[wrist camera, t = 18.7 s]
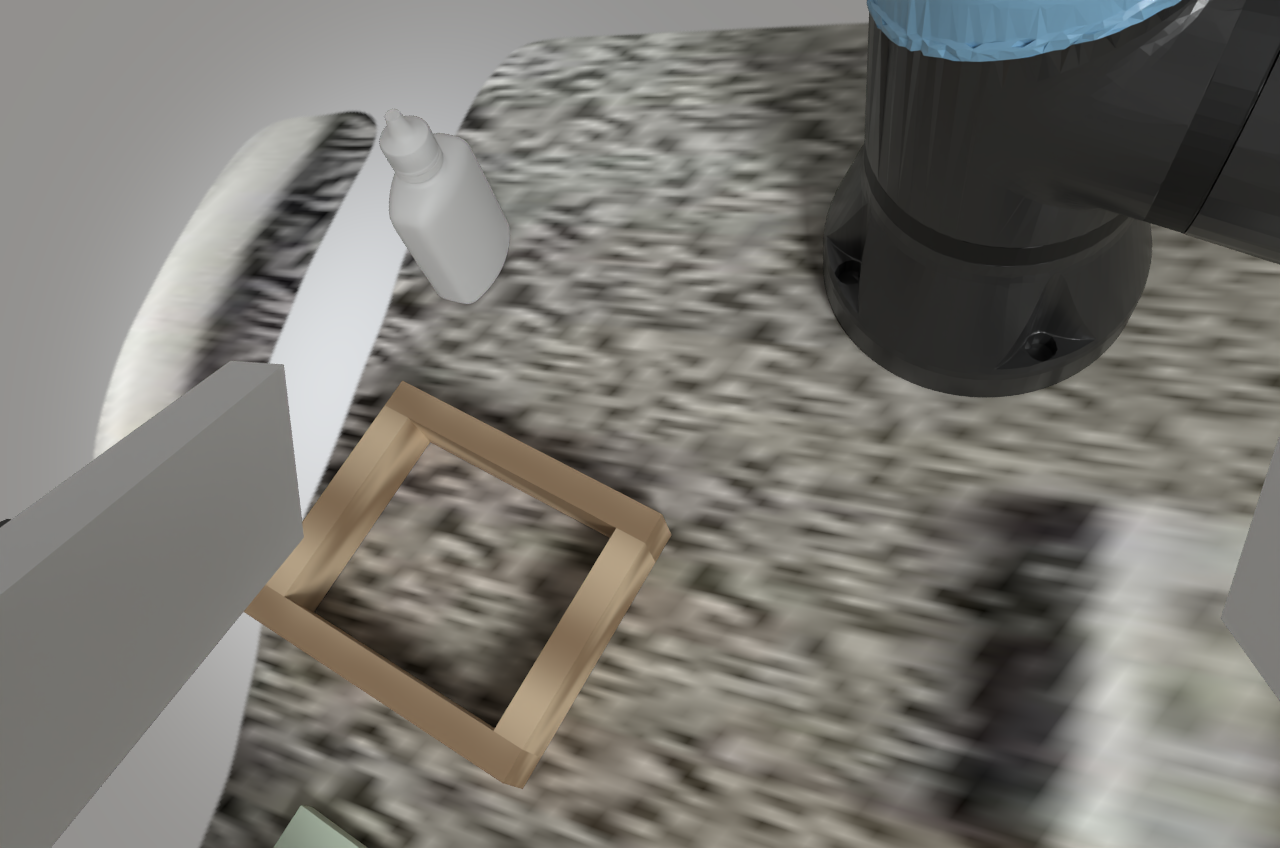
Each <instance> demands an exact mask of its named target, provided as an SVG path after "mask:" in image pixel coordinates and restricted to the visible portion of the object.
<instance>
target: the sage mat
mask: <svg viewBox="0 0 1280 848" xmlns="http://www.w3.org/2000/svg"><path fill="white" fill-rule="evenodd" d="M274 848H367V847H366V846H365V845H363V844H362V843H360V842H359V841H358V840H356V839H355V838H354V837H352V836H351V835H350V834H348V833H347V832H345V831H344V830H343V829H341V828H340V827H339V826H337V825H336V824H334V823H333V822H332V821H330V820H329V819H328V818H326V817H325V816H323V815H322V814H321V813H319V812H318V811H317V810H315V809H314V808H313V807H310V806H303V805H301V806H300V808H299V809H298V811H297V812H296V814H295V815H294V817H293V818H292V820H291V821H290V823H289V824H288V826H287V828H286V829H285V831H284V832H283V834H282V835H281V837H280V838H279V840H278V841H277V843H276V845H275V846H274Z"/></svg>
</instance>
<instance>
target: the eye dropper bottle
mask: <svg viewBox="0 0 1280 848" xmlns="http://www.w3.org/2000/svg"><path fill="white" fill-rule="evenodd" d="M385 120H386V123H387V126H386V127H385V128H384V130H383V131H382V133H381V136H380V141H379V142H380V143H379V144H380V147H381V150H382V152H383V153H384V155H385V157H386V158H387V160H388V161H389V163H390V165H391V166H392V168H393V170H394V171H395V174H394V177H393V181H392V185H391V190H390V198H389V214H390V219H391V221H392V224H393V226H394V228H395V229H396V231H397V233H398V235H399V236H400V237H401V239H402V241H403V242H404V244H405V246H406V247H407V249H408V250H409V252H410V253H411V255H412V256H413V258H414V259H415V261H416V262H417V264H418V265H419V267H420V268H421V270H422V271H423V273H424V274H425V276H426V278H427V279H428V281H429V282H430V284H431V285H432V287H433V288H434V290H435V291H436V293H437V294H438V295H439V296H440V297H442V298H444V299H447V300H451V301H455V302H459V303H463V304H471V303H473V302H475V301H477V300H478V299H479V298H480V297H481V296H482V295H483V294H484V293H485V292H486V291H487V290H488V289H489V288H490V286H491V285H492V284H493V282H494V281H495V280H496V278H497V277H498V275H499V273H500V271H501V269H502V267H503V265H504V262H505V260H506V256H507V253H508V248H509V241H510V228H509V224H508V222H507V220H506V218H505V216H504V213H503V211H502V209H501V207H500V205H499V203H498V201H497V199H496V197H495V195H494V193H493V191H492V189H491V187H490V185H489V183H488V181H487V178H486V176H485V174H484V172H483V170H482V168H481V166H480V164H479V162H478V160H477V158H476V156H475V155H474V153H473V151H472V149H471V147H470V145H469V144H468V143H467V142H466V141H465V140H464V139H462V138H460V137H457V136H453V135H449V134H442V133H436V134H433V133H432V131H431V129H430V128H429V126H428V124H427V123H426V122H425V121H424V120H423V119H422V118H419V117H417V116H403V115H402V114H401V113H400V112H399V111H398V110H397V109H391V110H389V111H387V113H386V114H385Z"/></svg>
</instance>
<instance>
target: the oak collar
mask: <svg viewBox="0 0 1280 848" xmlns="http://www.w3.org/2000/svg"><path fill="white" fill-rule="evenodd" d="M430 442H431V443H433V444H435V445H437V446H439V447H441V448H442V449H444V450H446V451H448V452H450V453H452V454H454V455H456V456H457V457H459V458H461V459H463V460H465V461H467V462H469V463H470V464H472V465H474V466H476V467H478V468H480V469H482V470H484V471H485V472H487V473H489V474H491V475H493V476H495V477H497V478H499V479H500V480H502V481H504V482H506V483H508V484H510V485H512V486H513V487H515V488H517V489H519V490H521V491H523V492H525V493H527V494H528V495H530V496H532V497H534V498H536V499H538V500H540V501H542V502H543V503H545V504H547V505H549V506H551V507H553V508H555V509H556V510H558V511H560V512H562V513H564V514H566V515H568V516H570V517H571V518H573V519H575V520H577V521H579V522H581V523H583V524H585V525H586V526H588V527H590V528H592V529H594V530H596V531H598V532H600V533H601V534H603V535H605V536H607V537H609V538H610V539H609V541H608V543H607V544H606V546H605V548H604V549H603V551H602V552H601V554H600V556H599V557H598V559H597V561H596V562H595V564H594V566H593V567H592V569H591V571H590V572H589V574H588V576H587V577H586V579H585V581H584V582H583V584H582V586H581V587H580V589H579V590H578V592H577V594H576V595H575V597H574V599H573V600H572V602H571V604H570V605H569V607H568V609H567V610H566V612H565V614H564V615H563V617H562V619H561V620H560V622H559V624H558V625H557V627H556V628H555V630H554V632H553V633H552V635H551V637H550V638H549V640H548V642H547V643H546V645H545V647H544V648H543V650H542V652H541V653H540V655H539V657H538V658H537V660H536V662H535V663H534V665H533V666H532V668H531V670H530V671H529V673H528V675H527V676H526V678H525V680H524V681H523V683H522V685H521V686H520V688H519V690H518V691H517V693H516V695H515V696H514V698H513V700H512V701H511V703H510V704H509V706H508V708H507V709H506V711H505V713H504V714H503V716H502V718H501V719H500V721H499V723H498V724H497V726H496V728H494V727H492V726H491V725H489V724H488V723H486V722H485V721H483V720H481V719H480V718H478V717H477V716H475V715H474V714H472V713H471V712H469V711H467V710H466V709H464V708H463V707H461V706H460V705H458V704H456V703H455V702H453V701H452V700H450V699H449V698H447V697H446V696H444V695H442V694H441V693H439V692H438V691H436V690H435V689H433V688H432V687H430V686H428V685H427V684H425V683H424V682H422V681H421V680H419V679H417V678H416V677H414V676H413V675H411V674H410V673H408V672H407V671H405V670H403V669H402V668H400V667H399V666H397V665H396V664H394V663H392V662H391V661H389V660H388V659H386V658H385V657H383V656H382V655H380V654H378V653H377V652H375V651H374V650H372V649H371V648H369V647H368V646H366V645H364V644H363V643H361V642H360V641H358V640H357V639H355V638H353V637H352V636H350V635H349V634H347V633H346V632H344V631H343V630H341V629H339V628H338V627H336V626H335V625H333V624H332V623H330V622H328V621H327V620H325V619H324V618H322V617H321V616H319V615H318V614H316V613H314V611H315V610H316V608H317V607H318V605H319V604H320V602H321V601H322V599H323V598H324V596H325V595H326V594H327V592H328V591H329V589H330V588H331V586H332V585H333V583H334V582H335V580H336V579H337V577H338V576H339V575H340V573H341V572H342V570H343V569H344V567H345V566H346V564H347V563H348V561H349V560H350V558H351V557H352V556H353V554H354V553H355V551H356V550H357V548H358V547H359V545H360V544H361V542H362V541H363V539H364V538H365V537H366V535H367V534H368V532H369V531H370V529H371V528H372V526H373V525H374V523H375V522H376V520H377V519H378V518H379V516H380V515H381V513H382V512H383V510H384V509H385V507H386V506H387V504H388V503H389V501H390V500H391V498H392V497H393V496H394V494H395V493H396V491H397V490H398V488H399V487H400V485H401V484H402V482H403V481H404V479H405V478H406V477H407V475H408V474H409V472H410V471H411V469H412V468H413V466H414V465H415V463H416V462H417V460H418V459H419V458H420V456H421V455H422V453H423V452H424V450H425V449H426V447H427V446H428V444H429V443H430ZM302 525H303V534H304V538H303V539H302V541H301V542H300V543H299V544H298V545H297V547H296V548H295V549H294V550H293V552H292V553H291V554H290V555H289V556H288V558H287V559H286V560H285V561H284V563H283V564H282V565H281V566H280V568H279V569H278V570H277V571H276V572H275V574H274V575H273V576H272V577H271V579H270V580H269V581H268V582H267V583H266V585H265V586H264V587H263V588H262V590H261V591H260V592H259V593H258V594H257V596H256V597H255V598H254V599H253V601H252V602H251V603H250V604H249V606H248V607H247V608H246V609H245V610H244V612H245V613H247V614H248V615H250V616H251V617H253V618H254V619H255V620H257V621H259V622H260V623H262V624H263V625H265V626H266V627H268V628H269V629H271V630H272V631H274V632H275V633H277V634H278V635H280V636H281V637H283V638H284V639H286V640H287V641H289V642H290V643H292V644H293V645H295V646H296V647H298V648H299V649H301V650H302V651H304V652H305V653H307V654H308V655H310V656H311V657H313V658H314V659H316V660H317V661H319V662H320V663H322V664H324V665H325V666H327V667H328V668H330V669H331V670H333V671H334V672H336V673H337V674H339V675H340V676H342V677H343V678H345V679H346V680H348V681H349V682H351V683H352V684H354V685H355V686H357V687H358V688H360V689H361V690H363V691H364V692H366V693H367V694H369V695H370V696H372V697H373V698H375V699H376V700H378V701H379V702H381V703H382V704H384V705H385V706H387V707H389V708H390V709H392V710H393V711H395V712H396V713H398V714H399V715H401V716H402V717H404V718H405V719H407V720H408V721H410V722H411V723H413V724H414V725H416V726H417V727H419V728H420V729H422V730H423V731H425V732H426V733H428V734H429V735H431V736H432V737H434V738H435V739H437V740H438V741H440V742H441V743H443V744H444V745H446V746H447V747H449V748H450V749H452V750H454V751H455V752H457V753H458V754H460V755H461V756H463V757H464V758H466V759H467V760H469V761H470V762H472V763H473V764H475V765H476V766H478V767H479V768H481V769H482V770H484V771H485V772H487V773H488V774H490V775H491V776H493V777H494V778H496V779H497V780H499V781H500V782H502V783H504V784H508V785H511V786H514V787H518V788H521V789H523V787H524V786H525V784H526V782H527V781H528V779H529V777H530V775H531V774H532V772H533V770H534V769H535V767H536V765H537V764H538V762H539V760H540V758H541V757H542V755H543V753H544V752H545V750H546V748H547V746H548V745H549V743H550V741H551V740H552V738H553V736H554V735H555V733H556V731H557V729H558V728H559V726H560V724H561V723H562V721H563V719H564V717H565V716H566V714H567V712H568V711H569V709H570V707H571V706H572V704H573V702H574V700H575V699H576V697H577V695H578V694H579V692H580V690H581V688H582V687H583V685H584V683H585V682H586V680H587V678H588V677H589V675H590V673H591V671H592V670H593V668H594V666H595V665H596V663H597V661H598V659H599V658H600V656H601V654H602V653H603V651H604V649H605V648H606V646H607V644H608V642H609V641H610V639H611V637H612V636H613V634H614V632H615V630H616V629H617V627H618V625H619V624H620V622H621V620H622V619H623V617H624V615H625V613H626V612H627V610H628V608H629V607H630V605H631V603H632V601H633V600H634V598H635V596H636V595H637V593H638V591H639V590H640V588H641V586H642V584H643V583H644V581H645V579H646V578H647V576H648V574H649V572H650V571H651V569H652V567H653V566H654V564H655V562H656V561H657V559H658V557H659V555H660V554H661V552H662V550H663V549H664V547H665V545H666V543H667V542H668V540H669V538H670V537H671V533H670V531H669V529H668V526H667V524H666V522H665V520H664V517H663V515H662V514H661V513H659V512H657V511H655V510H653V509H651V508H649V507H647V506H645V505H643V504H641V503H639V502H637V501H635V500H633V499H631V498H629V497H628V496H626V495H624V494H622V493H620V492H618V491H616V490H614V489H612V488H610V487H608V486H606V485H604V484H602V483H600V482H598V481H596V480H594V479H593V478H591V477H589V476H587V475H585V474H583V473H581V472H579V471H577V470H575V469H573V468H571V467H569V466H567V465H565V464H563V463H561V462H559V461H558V460H556V459H554V458H552V457H550V456H548V455H546V454H544V453H542V452H540V451H538V450H536V449H534V448H532V447H530V446H528V445H526V444H524V443H523V442H521V441H519V440H517V439H515V438H513V437H511V436H509V435H507V434H505V433H503V432H501V431H499V430H497V429H495V428H493V427H491V426H489V425H488V424H486V423H484V422H482V421H480V420H478V419H476V418H474V417H472V416H470V415H468V414H466V413H464V412H462V411H460V410H458V409H456V408H455V407H453V406H451V405H449V404H447V403H445V402H443V401H441V400H439V399H437V398H435V397H433V396H431V395H429V394H427V393H425V392H423V391H421V390H420V389H418V388H416V387H414V386H412V385H410V384H408V383H406V382H404V381H402V382H401V383H400V385H399V386H398V387H397V389H396V390H395V392H394V393H393V394H392V396H391V397H390V399H389V400H388V402H387V403H386V404H385V406H384V407H383V409H382V410H381V411H380V413H379V414H378V416H377V417H376V418H375V420H374V421H373V423H372V424H371V426H370V427H369V428H368V430H367V431H366V433H365V434H364V435H363V437H362V438H361V440H360V441H359V443H358V444H357V445H356V447H355V448H354V450H353V451H352V452H351V454H350V455H349V457H348V458H347V459H346V461H345V462H344V464H343V465H342V467H341V468H340V469H339V471H338V472H337V474H336V475H335V476H334V478H333V479H332V481H331V482H330V483H329V485H328V486H327V488H326V489H325V491H324V492H323V493H322V495H321V496H320V498H319V499H318V500H317V502H316V503H315V505H314V506H313V508H312V509H311V510H310V512H309V513H308V515H307V516H306V517H305V519H304V520H303V522H302Z"/></svg>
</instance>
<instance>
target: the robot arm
mask: <svg viewBox="0 0 1280 848" xmlns="http://www.w3.org/2000/svg"><path fill="white" fill-rule="evenodd" d="M867 6H868V9H869V32H868V58H867V84H866V110H865V140H864V145H863V146H862V148H861V150H860V151H859V153H858V155H857V157H856V158H855V160H854V162H853V163H852V165H851V167H850V168H849V170H848V172H847V174H846V175H845V177H844V179H843V180H842V182H841V184H840V186H839V187H838V189H837V191H836V193H835V195H834V198H833V200H832V202H831V205H830V208H829V211H828V215H827V219H826V223H825V229H824V237H823V274H824V282H825V287H826V292H827V295H828V298H829V301H830V304H831V306H832V309H833V311H834V313H835V315H836V317H837V319H838V321H839V322H840V324H841V326H842V327H843V329H844V330H845V331H846V333H847V334H848V336H849V337H850V338H851V339H852V340H853V342H854V343H855V344H856V345H857V346H858V347H859V348H860V349H861V350H862V351H863V352H864V353H865V354H866V355H868V356H869V357H870V358H871V359H872V360H874V361H875V362H876V363H878V364H879V365H880V366H882V367H883V368H885V369H887V370H888V371H890V372H891V373H893V374H895V375H897V376H899V377H901V378H903V379H905V380H907V381H909V382H911V383H914V384H917V385H919V386H922V387H925V388H928V389H931V390H934V391H939V392H943V393H947V394H953V395H959V396H968V397H1003V396H1012V395H1018V394H1024V393H1028V392H1032V391H1036V390H1039V389H1043V388H1046V387H1049V386H1051V385H1054V384H1057V383H1059V382H1061V381H1063V380H1065V379H1067V378H1069V377H1071V376H1073V375H1075V374H1077V373H1078V372H1080V371H1081V370H1083V369H1084V368H1086V367H1087V366H1089V365H1090V364H1091V363H1093V362H1094V361H1095V360H1097V359H1098V358H1099V357H1100V356H1101V355H1102V354H1103V353H1104V352H1105V351H1106V350H1107V349H1108V348H1109V347H1110V346H1111V345H1112V344H1113V343H1114V341H1115V340H1116V339H1117V337H1118V336H1119V335H1120V333H1121V332H1122V330H1123V329H1124V327H1125V326H1126V324H1127V322H1128V320H1129V318H1130V316H1131V314H1132V312H1133V311H1134V309H1135V307H1136V305H1137V303H1138V301H1139V299H1140V297H1141V295H1142V292H1143V290H1144V288H1145V284H1146V281H1147V278H1148V273H1149V269H1150V264H1151V256H1152V236H1151V225H1150V223H1152V224H1155V225H1158V226H1162V227H1165V228H1168V229H1172V230H1175V231H1178V232H1181V233H1183V234H1186V235H1189V236H1192V237H1195V238H1199V239H1202V240H1205V241H1208V242H1211V243H1214V244H1217V245H1220V246H1224V247H1227V248H1230V249H1233V250H1236V251H1239V252H1242V253H1245V254H1249V255H1252V256H1255V257H1258V258H1261V259H1264V260H1267V261H1270V262H1274V263H1277V264H1280V0H867ZM303 538H304V534H303V525H302V517H301V508H300V499H299V491H298V482H297V474H296V465H295V458H294V448H293V440H292V431H291V423H290V415H289V406H288V397H287V389H286V380H285V371H284V365H282V364H268V363H254V362H241V361H230V362H228V363H227V364H225V365H224V366H223V367H221V368H220V369H219V370H217V371H216V372H214V373H213V374H212V375H210V376H209V377H207V378H206V379H205V380H203V381H202V382H201V383H199V384H198V385H196V386H195V387H194V388H192V389H191V390H190V391H188V392H187V393H185V394H184V395H183V396H181V397H180V398H178V399H177V400H176V401H174V402H173V403H172V404H170V405H169V406H167V407H166V408H165V409H163V410H162V411H161V412H159V413H158V414H156V415H155V416H154V417H152V418H151V419H149V420H148V421H147V422H145V423H144V424H143V425H141V426H140V427H138V428H137V429H136V430H134V431H133V432H132V433H130V434H129V435H127V436H126V437H125V438H123V439H122V440H120V441H119V442H118V443H116V444H115V445H114V446H112V447H111V448H109V449H108V450H107V451H105V452H104V453H103V454H101V455H100V456H98V457H97V458H96V459H94V460H93V461H91V462H90V463H89V464H87V465H86V466H85V467H83V468H82V469H81V470H79V471H78V472H76V473H75V474H74V475H72V476H71V477H69V478H68V479H67V480H65V481H64V482H62V483H61V484H60V485H58V486H57V487H56V488H54V489H53V490H51V491H50V492H49V493H47V494H46V495H45V496H43V497H42V498H40V499H39V500H38V501H36V502H35V503H33V504H32V505H31V506H30V507H28V508H27V509H25V510H24V511H22V512H21V513H20V514H18V515H17V516H16V517H14V518H13V519H6V520H4V521H1V522H0V848H51V847H52V846H53V844H54V843H55V842H56V841H57V840H58V838H59V837H60V836H61V835H62V833H63V832H64V831H65V830H66V829H67V827H68V826H69V825H70V824H71V822H72V821H73V820H74V819H75V817H76V816H77V815H78V814H79V813H80V811H81V810H82V809H83V808H84V807H85V805H86V804H87V803H88V802H89V800H90V799H91V798H92V797H93V795H94V794H95V793H96V792H97V791H98V789H99V788H100V787H101V786H102V784H103V783H104V782H105V781H106V780H107V778H108V777H109V776H110V775H111V773H112V772H113V771H114V770H115V769H116V767H117V766H118V765H119V763H120V762H121V761H122V760H123V759H124V758H125V756H126V755H127V754H128V753H129V751H130V750H131V749H132V748H133V746H134V745H135V744H136V743H137V742H138V740H139V739H140V738H141V737H142V735H143V734H144V733H145V732H146V731H147V729H148V728H149V727H150V726H151V724H152V723H153V722H154V721H155V720H156V718H157V717H158V716H159V715H160V713H161V712H162V711H163V710H164V708H165V707H166V706H167V705H168V704H169V702H170V701H171V700H172V699H173V697H174V696H175V695H176V694H177V692H178V691H179V690H180V689H181V688H182V686H183V685H184V684H185V683H186V681H187V680H188V679H189V678H190V676H191V675H192V674H193V673H194V672H195V670H196V669H197V668H198V667H199V665H200V664H201V663H202V662H203V661H204V659H205V658H206V657H207V656H208V655H209V653H210V652H211V651H212V650H213V648H214V647H215V646H216V645H217V644H218V642H219V641H220V640H221V638H222V637H223V636H224V635H225V634H226V632H227V631H228V630H229V629H230V627H231V626H232V625H233V624H234V623H235V621H236V620H237V619H238V618H239V616H240V615H241V614H242V613H243V612H244V610H245V609H246V608H247V607H248V606H249V604H250V603H251V602H252V601H253V599H254V598H255V597H256V596H257V594H258V593H259V592H260V591H261V590H262V588H263V587H264V586H265V585H266V583H267V582H268V581H269V580H270V579H271V577H272V576H273V575H274V574H275V572H276V571H277V570H278V569H279V568H280V566H281V565H282V564H283V563H284V561H285V560H286V559H287V558H288V556H289V555H290V554H291V553H292V552H293V550H294V549H295V548H296V547H297V545H298V544H299V543H300V542H301V541H302V539H303ZM1221 620H1222V621H1223V622H1224V624H1225V625H1226V627H1227V628H1228V629H1229V631H1230V632H1231V634H1232V635H1233V636H1234V638H1235V639H1236V641H1237V642H1238V643H1239V645H1240V646H1241V648H1242V649H1243V650H1244V652H1245V653H1246V655H1247V656H1248V657H1249V659H1250V660H1251V662H1252V663H1253V664H1254V666H1255V667H1256V669H1257V670H1258V671H1259V673H1260V674H1261V676H1262V677H1263V678H1264V680H1265V681H1266V683H1267V684H1268V685H1269V687H1270V688H1271V690H1272V691H1273V692H1274V694H1275V695H1276V697H1277V698H1278V699H1279V701H1280V437H1279V438H1278V441H1277V444H1276V447H1275V450H1274V453H1273V457H1272V460H1271V463H1270V466H1269V469H1268V472H1267V475H1266V478H1265V482H1264V485H1263V488H1262V491H1261V494H1260V497H1259V500H1258V503H1257V506H1256V510H1255V513H1254V516H1253V519H1252V522H1251V525H1250V528H1249V531H1248V535H1247V538H1246V541H1245V544H1244V547H1243V550H1242V553H1241V556H1240V559H1239V563H1238V566H1237V569H1236V572H1235V575H1234V578H1233V581H1232V584H1231V588H1230V591H1229V594H1228V597H1227V600H1226V603H1225V606H1224V609H1223V612H1222V616H1221Z"/></svg>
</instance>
